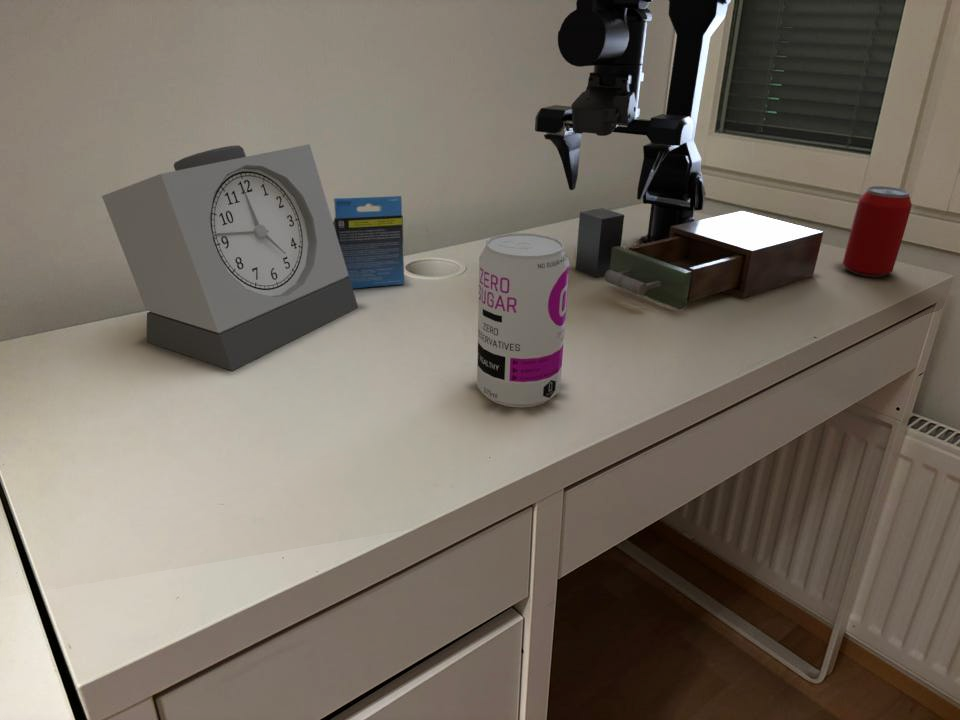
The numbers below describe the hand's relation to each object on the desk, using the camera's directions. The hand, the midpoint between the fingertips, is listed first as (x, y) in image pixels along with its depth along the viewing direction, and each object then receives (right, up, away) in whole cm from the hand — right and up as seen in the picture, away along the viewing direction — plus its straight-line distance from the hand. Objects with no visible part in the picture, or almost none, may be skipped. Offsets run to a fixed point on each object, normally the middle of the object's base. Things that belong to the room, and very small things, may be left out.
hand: (605, 194), depth 91 cm
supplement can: (-12, -25, -21) cm, 35 cm away
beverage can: (+41, -8, +14) cm, 44 cm away
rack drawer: (+9, -12, +4) cm, 15 cm away
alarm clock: (-43, -17, -7) cm, 47 cm away
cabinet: (+22, -9, +12) cm, 26 cm away
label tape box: (-31, -11, +5) cm, 34 cm away
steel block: (+1, -8, +12) cm, 14 cm away
